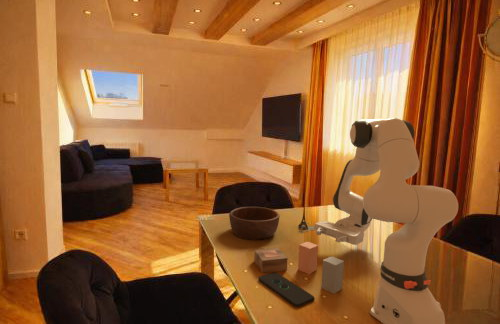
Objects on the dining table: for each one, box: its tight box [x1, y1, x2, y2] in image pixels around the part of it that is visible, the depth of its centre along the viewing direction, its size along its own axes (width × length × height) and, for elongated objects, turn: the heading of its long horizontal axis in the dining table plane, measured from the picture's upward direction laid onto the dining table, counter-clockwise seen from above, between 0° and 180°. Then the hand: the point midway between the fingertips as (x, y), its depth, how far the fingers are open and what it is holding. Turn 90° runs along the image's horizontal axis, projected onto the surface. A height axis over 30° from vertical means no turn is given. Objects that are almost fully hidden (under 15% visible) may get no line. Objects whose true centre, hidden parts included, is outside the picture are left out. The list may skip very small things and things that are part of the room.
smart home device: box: [258, 271, 315, 309], centre depth 107 cm, size 8×2×20 cm
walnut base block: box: [253, 247, 289, 274], centre depth 125 cm, size 10×10×5 cm
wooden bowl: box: [228, 206, 280, 241], centre depth 159 cm, size 25×25×10 cm
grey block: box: [320, 256, 345, 294], centre depth 108 cm, size 5×5×10 cm
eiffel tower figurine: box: [297, 203, 315, 234], centre depth 169 cm, size 15×10×13 cm
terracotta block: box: [297, 241, 319, 275], centre depth 121 cm, size 5×5×10 cm
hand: (326, 236), depth 129 cm, fingers open, 8 cm apart
